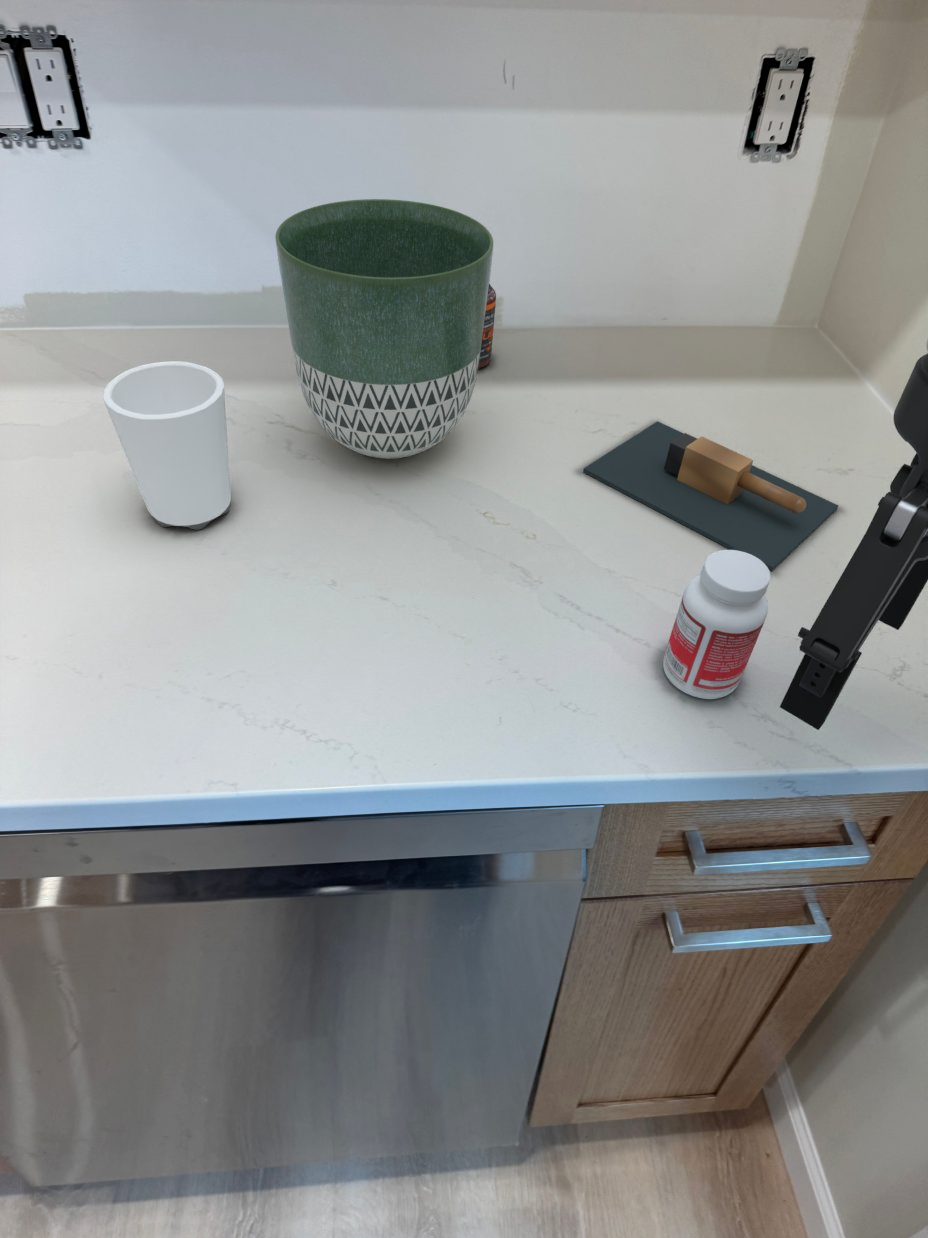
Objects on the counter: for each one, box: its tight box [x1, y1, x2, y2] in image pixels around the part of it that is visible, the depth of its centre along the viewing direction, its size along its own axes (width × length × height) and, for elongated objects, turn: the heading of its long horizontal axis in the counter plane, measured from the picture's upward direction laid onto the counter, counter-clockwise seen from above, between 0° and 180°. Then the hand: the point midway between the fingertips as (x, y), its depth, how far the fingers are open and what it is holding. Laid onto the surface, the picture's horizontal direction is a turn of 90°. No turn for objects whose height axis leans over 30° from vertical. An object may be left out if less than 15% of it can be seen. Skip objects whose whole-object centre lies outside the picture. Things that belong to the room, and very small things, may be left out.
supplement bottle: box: [478, 280, 497, 370], centre depth 99 cm, size 6×6×11 cm
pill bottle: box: [662, 549, 771, 700], centre depth 63 cm, size 6×6×11 cm
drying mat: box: [582, 420, 839, 572], centre depth 85 cm, size 22×14×1 cm, turn 47°
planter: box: [274, 198, 494, 460], centre depth 81 cm, size 20×20×21 cm
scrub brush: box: [664, 432, 806, 513], centre depth 82 cm, size 15×3×4 cm, turn 47°
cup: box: [102, 360, 232, 531], centre depth 74 cm, size 10×10×13 cm
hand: (843, 664), depth 56 cm, fingers open, 12 cm apart
